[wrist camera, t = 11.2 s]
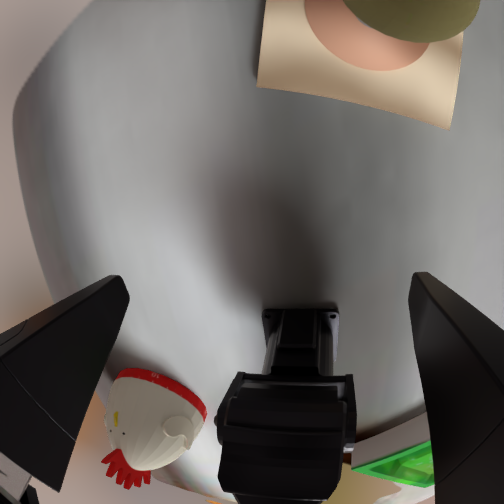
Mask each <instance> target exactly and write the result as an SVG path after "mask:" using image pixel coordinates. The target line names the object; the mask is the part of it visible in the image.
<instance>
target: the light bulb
mask: <svg viewBox="0 0 504 504" xmlns="http://www.w3.org/2000/svg"><path fill="white" fill-rule="evenodd" d="M343 2H344V3H345V5H346V6H347V7H348V8H349V9H350V10H351V11H352V13H353V14H354V15H355V16H356V18H357V19H358V20H359V21H360V22H361V23H362V24H364V25H365V26H367V27H369V28H373V29H375V30H377V31H379V32H381V33H383V34H385V35H387V36H390V37H393V38H396V39H399V40H404V41H409V42H414V43H432V42H437V41H443V40H447V39H449V38H452V37H454V36H456V35H458V34H459V33H461V32H462V31H464V30H465V29H466V28H467V27H468V26H469V25H470V24H471V22H472V21H473V19H474V18H475V16H476V14H477V11H478V9H479V5H480V0H343Z"/></svg>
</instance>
